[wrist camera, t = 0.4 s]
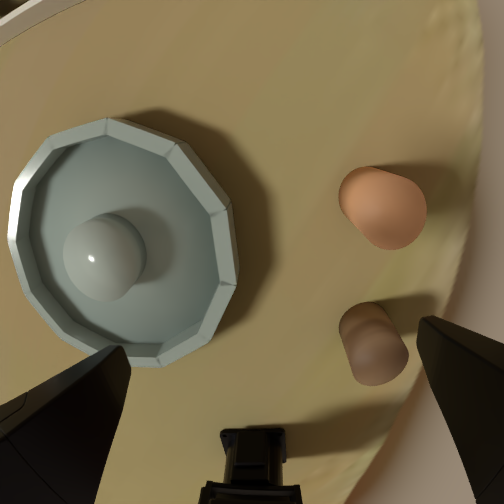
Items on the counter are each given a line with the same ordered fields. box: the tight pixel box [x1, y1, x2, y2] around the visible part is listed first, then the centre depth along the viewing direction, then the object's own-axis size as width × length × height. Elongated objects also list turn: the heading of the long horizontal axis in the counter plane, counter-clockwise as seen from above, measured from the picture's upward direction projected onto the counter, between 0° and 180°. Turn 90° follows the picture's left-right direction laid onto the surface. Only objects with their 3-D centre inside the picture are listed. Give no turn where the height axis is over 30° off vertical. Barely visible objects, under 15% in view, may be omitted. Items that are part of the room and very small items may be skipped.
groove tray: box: [7, 118, 240, 368], centre depth 21 cm, size 18×18×3 cm
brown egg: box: [339, 167, 427, 250], centre depth 18 cm, size 4×4×5 cm
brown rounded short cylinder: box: [339, 302, 409, 386], centre depth 21 cm, size 4×4×5 cm
